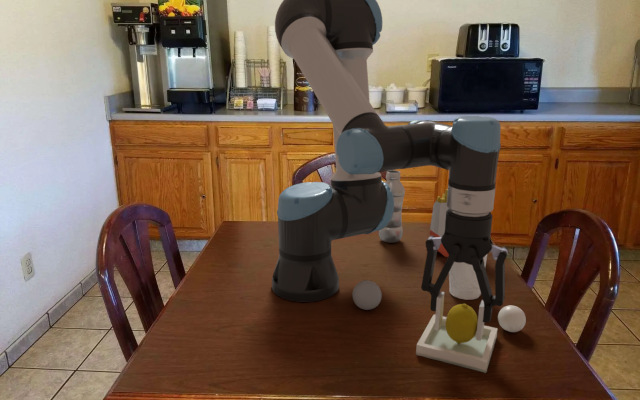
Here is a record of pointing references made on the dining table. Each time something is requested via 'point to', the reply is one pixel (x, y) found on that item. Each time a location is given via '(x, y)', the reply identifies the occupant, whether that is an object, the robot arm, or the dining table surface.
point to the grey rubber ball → (367, 295)
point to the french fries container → (439, 220)
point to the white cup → (464, 281)
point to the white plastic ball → (511, 318)
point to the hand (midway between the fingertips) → (458, 331)
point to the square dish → (457, 347)
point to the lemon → (461, 323)
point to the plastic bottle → (395, 225)
